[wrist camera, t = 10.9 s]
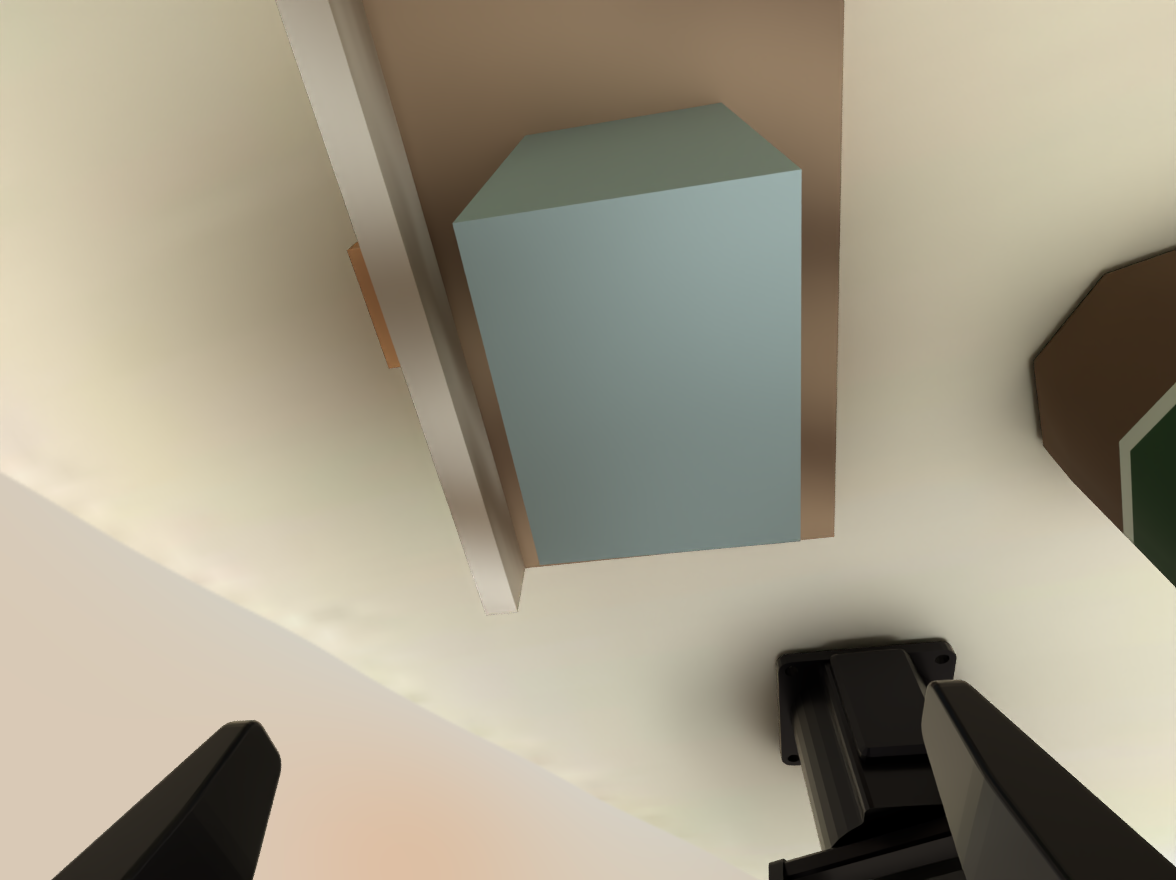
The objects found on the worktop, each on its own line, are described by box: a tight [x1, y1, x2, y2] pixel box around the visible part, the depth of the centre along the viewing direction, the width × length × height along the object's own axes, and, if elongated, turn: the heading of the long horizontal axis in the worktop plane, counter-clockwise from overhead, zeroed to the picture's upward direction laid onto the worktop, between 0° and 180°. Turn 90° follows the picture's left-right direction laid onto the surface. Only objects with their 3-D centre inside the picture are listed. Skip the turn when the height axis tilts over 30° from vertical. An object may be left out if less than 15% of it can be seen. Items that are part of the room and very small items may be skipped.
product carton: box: [452, 103, 802, 565], centre depth 14 cm, size 5×6×8 cm
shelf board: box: [275, 0, 844, 615], centre depth 17 cm, size 20×11×4 cm, turn 10°
